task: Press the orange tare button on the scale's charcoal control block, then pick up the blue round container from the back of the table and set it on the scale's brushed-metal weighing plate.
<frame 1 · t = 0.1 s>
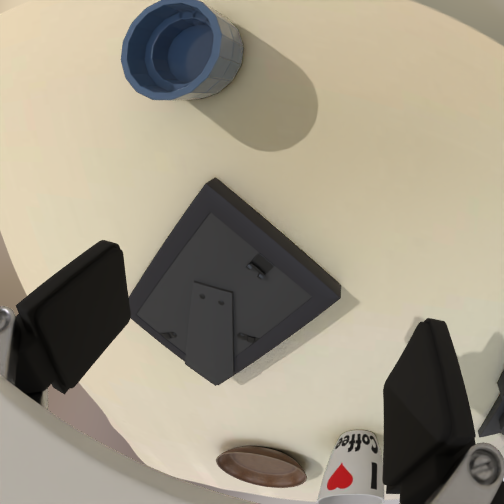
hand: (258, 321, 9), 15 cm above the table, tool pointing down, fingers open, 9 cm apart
cup: (357, 437, 35), on the table
blue round container: (200, 55, 20), on the table
saucer: (264, 458, 43), on the table
picture frame: (219, 294, 29), on the table
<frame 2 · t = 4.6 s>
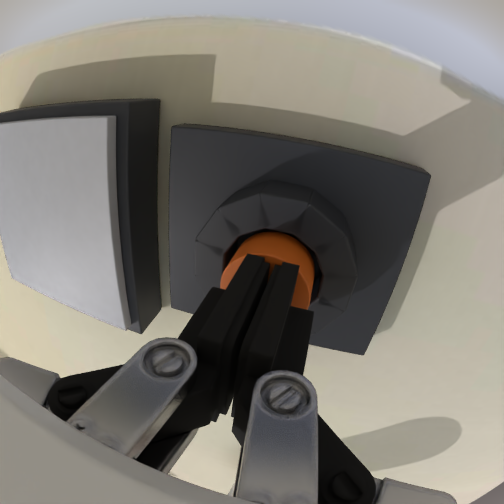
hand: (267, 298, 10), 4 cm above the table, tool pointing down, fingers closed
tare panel: (284, 241, 14), on the table
scale: (75, 201, 16), on the table
tare button: (269, 281, 11), point 3 cm above the table, slide at -0.1 cm, touching gripper
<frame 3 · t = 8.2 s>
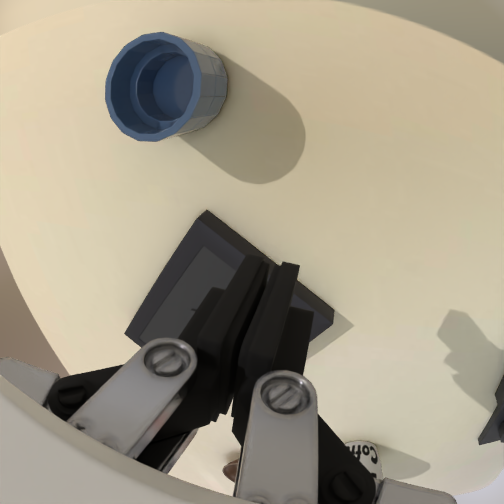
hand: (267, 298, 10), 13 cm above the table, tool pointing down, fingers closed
cup: (358, 447, 35), on the table
blue round container: (185, 86, 20), on the table
saucer: (269, 468, 43), on the table
picture frame: (217, 319, 30), on the table
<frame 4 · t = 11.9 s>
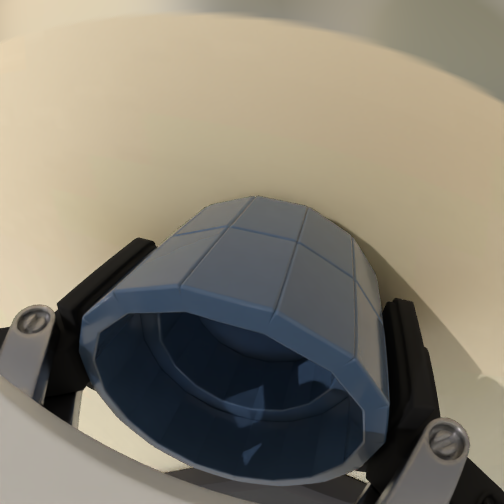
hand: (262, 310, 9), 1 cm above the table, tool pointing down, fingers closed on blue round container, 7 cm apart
blue round container: (268, 296, 10), on the table, touching gripper
picture frame: (268, 495, 20), on the table
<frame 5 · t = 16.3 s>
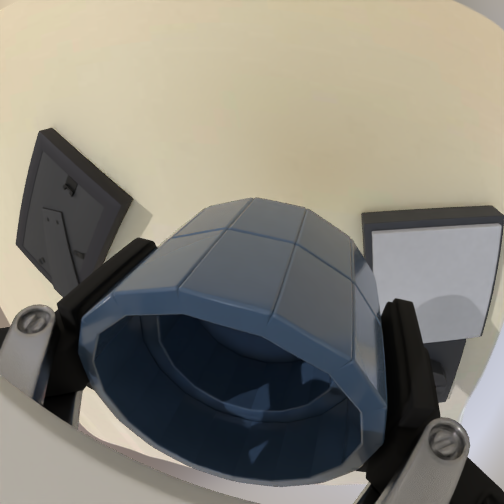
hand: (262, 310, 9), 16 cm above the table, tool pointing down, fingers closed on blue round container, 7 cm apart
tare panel: (416, 370, 28), on the table
blue round container: (267, 297, 10), point 15 cm above the table, touching gripper
scale: (428, 273, 23), on the table
picture frame: (67, 221, 31), on the table
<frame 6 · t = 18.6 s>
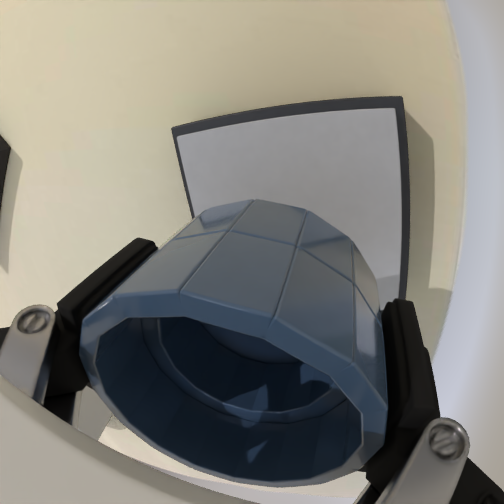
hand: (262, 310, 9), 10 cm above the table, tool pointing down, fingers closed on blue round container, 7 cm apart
cup: (109, 359, 31), on the table
blue round container: (267, 298, 10), point 9 cm above the table, touching gripper
scale: (302, 205, 18), on the table
when the fingers open (4 cm above the table, at t = 20.6 s): blue round container stays where it is, resting on scale.
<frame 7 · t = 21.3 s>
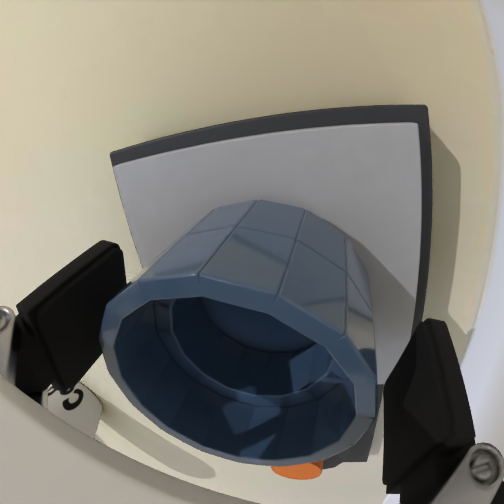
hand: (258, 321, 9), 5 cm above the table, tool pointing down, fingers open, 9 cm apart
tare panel: (307, 415, 18), on the table
cup: (84, 393, 27), on the table
blue round container: (269, 291, 11), point 3 cm above the table, touching scale
scale: (284, 251, 14), on the table
tare button: (298, 459, 15), point 3 cm above the table, slide at 0.1 cm
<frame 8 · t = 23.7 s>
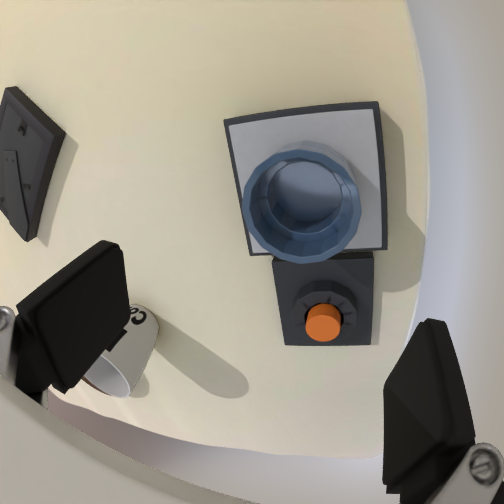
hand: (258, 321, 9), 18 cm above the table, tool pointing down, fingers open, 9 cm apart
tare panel: (326, 300, 30), on the table
cup: (142, 319, 38), on the table
blue round container: (308, 187, 22), point 3 cm above the table, touching scale
scale: (312, 176, 25), on the table
tare button: (323, 322, 27), point 3 cm above the table, slide at 0.1 cm
picture frame: (22, 162, 33), on the table
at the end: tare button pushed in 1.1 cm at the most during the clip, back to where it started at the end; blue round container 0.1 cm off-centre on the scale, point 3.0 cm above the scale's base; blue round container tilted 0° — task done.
